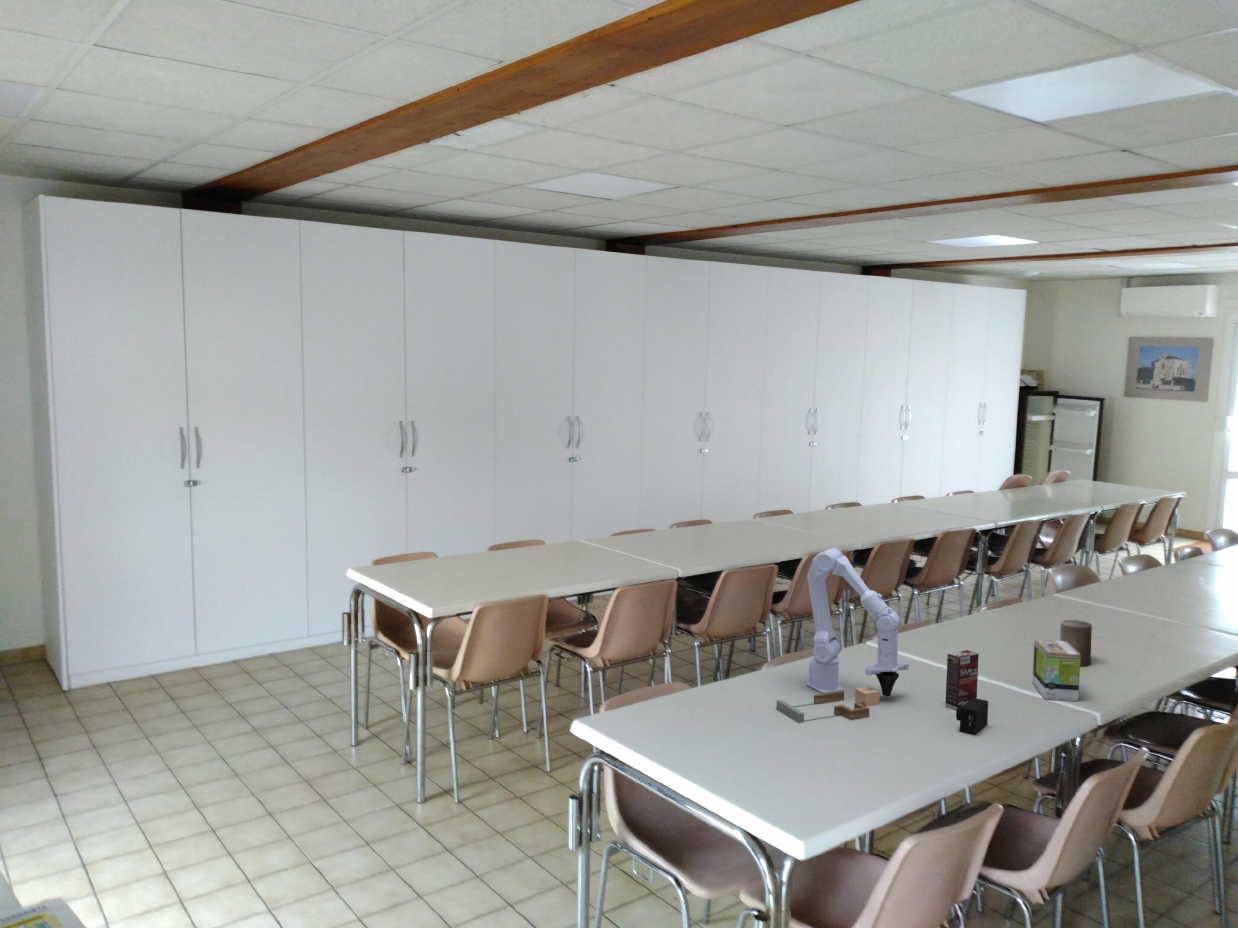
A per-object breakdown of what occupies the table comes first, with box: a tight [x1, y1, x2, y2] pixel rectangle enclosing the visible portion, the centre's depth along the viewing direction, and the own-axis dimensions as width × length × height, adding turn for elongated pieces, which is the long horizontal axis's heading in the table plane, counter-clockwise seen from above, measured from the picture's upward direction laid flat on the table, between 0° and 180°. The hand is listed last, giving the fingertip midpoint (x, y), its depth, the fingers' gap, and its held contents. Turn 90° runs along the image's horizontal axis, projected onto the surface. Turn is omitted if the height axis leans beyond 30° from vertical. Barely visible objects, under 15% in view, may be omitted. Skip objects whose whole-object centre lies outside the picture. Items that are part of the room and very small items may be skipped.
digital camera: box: [955, 697, 989, 737], centre depth 250 cm, size 10×5×7 cm, turn 141°
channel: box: [813, 690, 870, 721], centre depth 265 cm, size 16×10×2 cm, turn 22°
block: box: [854, 686, 880, 707], centre depth 270 cm, size 5×5×4 cm
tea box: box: [1032, 639, 1081, 702], centre depth 278 cm, size 15×10×15 cm
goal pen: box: [776, 699, 836, 723], centre depth 262 cm, size 12×12×2 cm
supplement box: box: [944, 649, 979, 711], centre depth 267 cm, size 9×5×16 cm, turn 120°
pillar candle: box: [1059, 619, 1093, 667], centre depth 308 cm, size 10×10×15 cm
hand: (886, 695), depth 273 cm, fingers closed
